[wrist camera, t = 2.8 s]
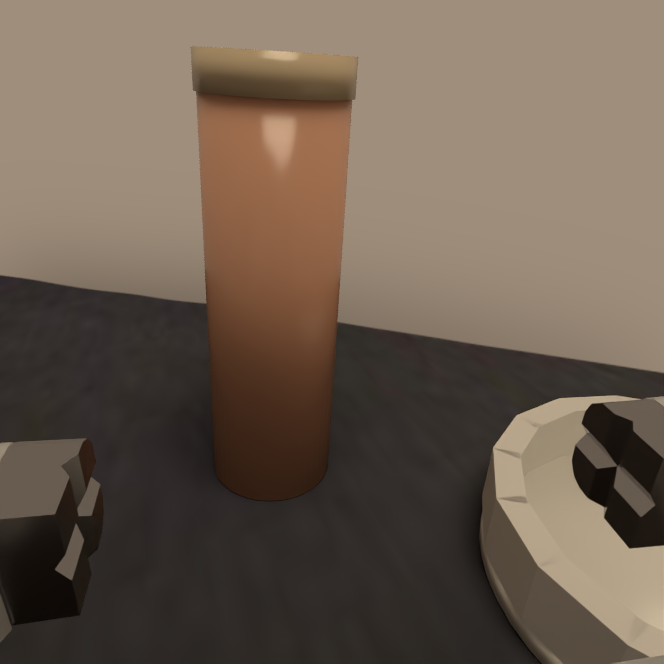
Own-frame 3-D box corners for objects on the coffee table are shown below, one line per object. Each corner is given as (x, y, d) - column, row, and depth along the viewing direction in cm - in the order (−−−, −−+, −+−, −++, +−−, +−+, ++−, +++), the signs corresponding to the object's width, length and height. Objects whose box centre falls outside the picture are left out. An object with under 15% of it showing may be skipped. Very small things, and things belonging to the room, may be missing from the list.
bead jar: (210, 507, 22) (184, 45, 14) (213, 428, 26) (195, 48, 19) (339, 497, 23) (375, 57, 15) (320, 422, 27) (341, 57, 20)
